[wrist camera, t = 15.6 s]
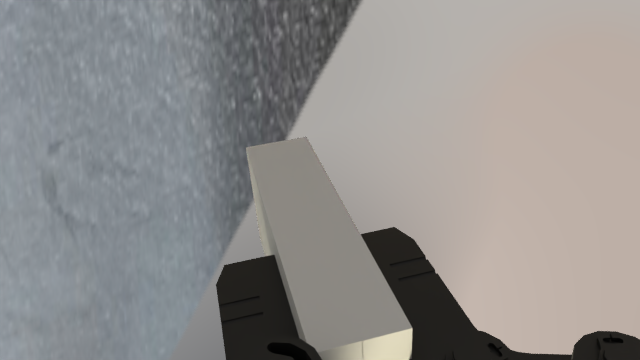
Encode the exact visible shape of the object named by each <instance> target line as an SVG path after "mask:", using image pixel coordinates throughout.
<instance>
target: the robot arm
mask: <svg viewBox="0 0 640 360" xmlns="http://www.w3.org/2000/svg"><path fill="white" fill-rule="evenodd" d="M246 151H247V157H248V164H249V170H250V177H251V183H252V189H253V196H254V202H255V208H256V215H257V221H258V228H259V234H260V239H261V243H262V247H263V250H264V254H265V257H260V258H256V259H251V260H246V261H242V262H237V263H233V264H228V265H224V268H223V270H222V272H221V275H220V277H219V279H218V282H217V284H216V287H217V295H218V302H219V308H220V317H221V323H222V332H223V339H224V346H225V354H226V360H640V340H639V339H638V338H636V337H633V336H629V335H626V334H622V333H619V332H610V331H608V332H607V331H597V332H594V333H591V334H587V335H584V336H583V337H582V338H581V339H580V340H579V341H578V342H577V343H576V344H575V345H574V349H573V353H572V355H559V354H529V353H521V352H516V351H512V350H510V349H509V348H508V347H507V346H506V345H505V344H503V342H502V341H501V340H499V339H497V338H495V337H493V336H492V335H490V334H487V333H486V332H483V331H478V330H477V329H476V328H475V327H474V326H473V324H472V323H471V322H470V320H469V318H468V317H467V316H466V314H465V313H464V311H463V310H462V308H461V307H460V305H459V304H458V303H457V301H456V300H455V299H454V297H453V295H452V294H451V293H450V291H449V290H448V288H447V287H446V285H445V284H444V282H443V281H442V280H441V278H440V277H439V275H438V274H436V273H435V269H434V268H433V267H432V265H431V264H430V262H429V261H428V260H426V258H425V255H424V254H423V252H422V251H421V249H420V248H419V246H418V245H417V244H416V242H415V241H414V240H413V239H412V238H411V237H409V236H407V235H406V234H404V233H403V232H401V231H400V230H398V229H397V228H395V227H393V228H388V229H383V230H379V231H374V232H369V233H365V234H360V233H359V231H358V229H357V227H356V225H355V224H354V222H353V221H352V218H351V217H350V215H349V213H348V211H347V209H346V208H345V206H344V204H343V202H342V200H341V198H340V197H339V195H338V193H337V191H336V189H335V188H334V186H333V184H332V182H331V180H330V179H329V177H328V175H327V173H326V171H325V170H324V168H323V166H322V164H321V162H320V161H319V159H318V157H317V155H316V153H315V152H314V150H313V148H312V146H311V145H310V143H309V141H308V139H307V137H303V138H297V139H291V140H286V141H280V142H274V143H268V144H263V145H257V146H251V147H246Z"/></svg>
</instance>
